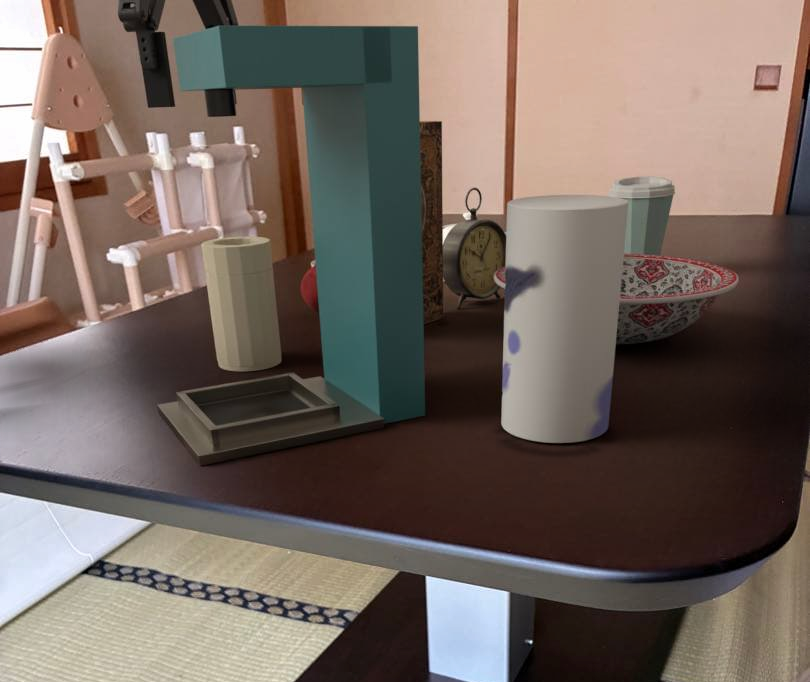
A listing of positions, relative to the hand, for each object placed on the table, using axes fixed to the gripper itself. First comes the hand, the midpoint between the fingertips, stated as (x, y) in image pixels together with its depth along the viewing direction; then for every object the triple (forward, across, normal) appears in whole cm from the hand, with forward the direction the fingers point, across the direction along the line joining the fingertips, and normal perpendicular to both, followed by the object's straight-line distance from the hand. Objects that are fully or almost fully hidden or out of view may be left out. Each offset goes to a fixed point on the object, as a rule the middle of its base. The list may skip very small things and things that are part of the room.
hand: (195, 106), depth 91 cm
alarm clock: (+28, +34, -23) cm, 50 cm away
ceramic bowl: (+28, +18, -44) cm, 55 cm away
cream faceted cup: (+28, -1, -4) cm, 28 cm away
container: (+28, -15, -42) cm, 53 cm away
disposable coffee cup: (+28, +60, -45) cm, 80 cm away
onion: (+28, +23, -3) cm, 37 cm away
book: (+28, +19, -16) cm, 37 cm away
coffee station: (+28, -18, -17) cm, 37 cm away
